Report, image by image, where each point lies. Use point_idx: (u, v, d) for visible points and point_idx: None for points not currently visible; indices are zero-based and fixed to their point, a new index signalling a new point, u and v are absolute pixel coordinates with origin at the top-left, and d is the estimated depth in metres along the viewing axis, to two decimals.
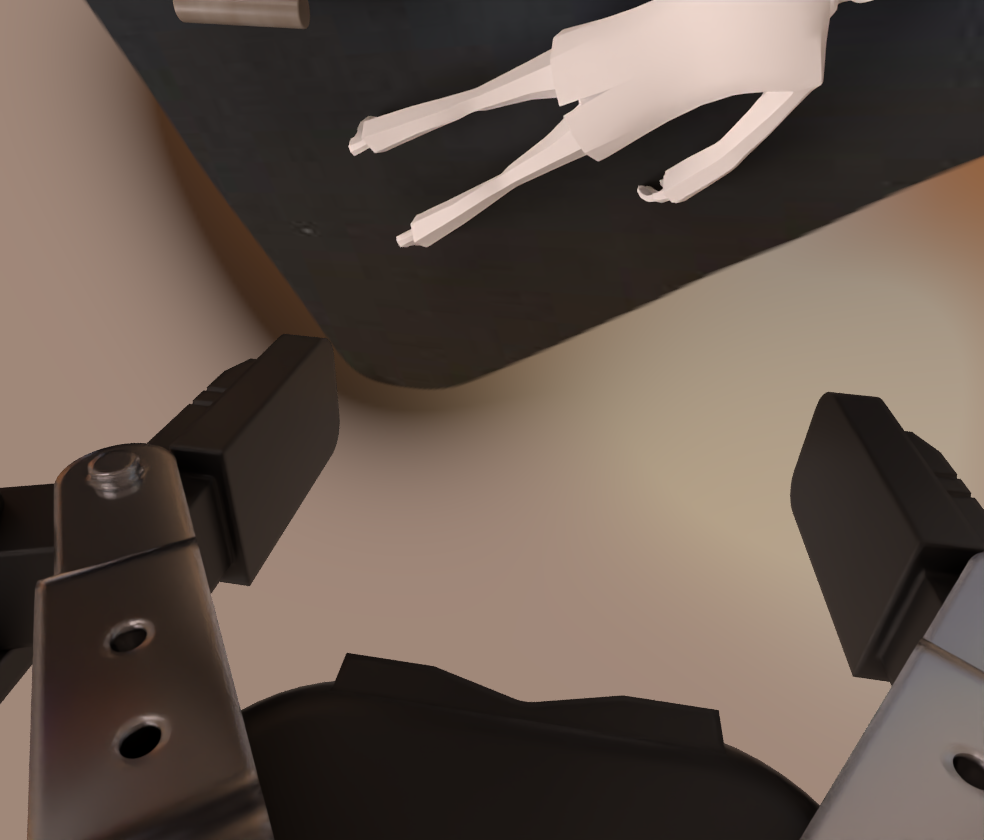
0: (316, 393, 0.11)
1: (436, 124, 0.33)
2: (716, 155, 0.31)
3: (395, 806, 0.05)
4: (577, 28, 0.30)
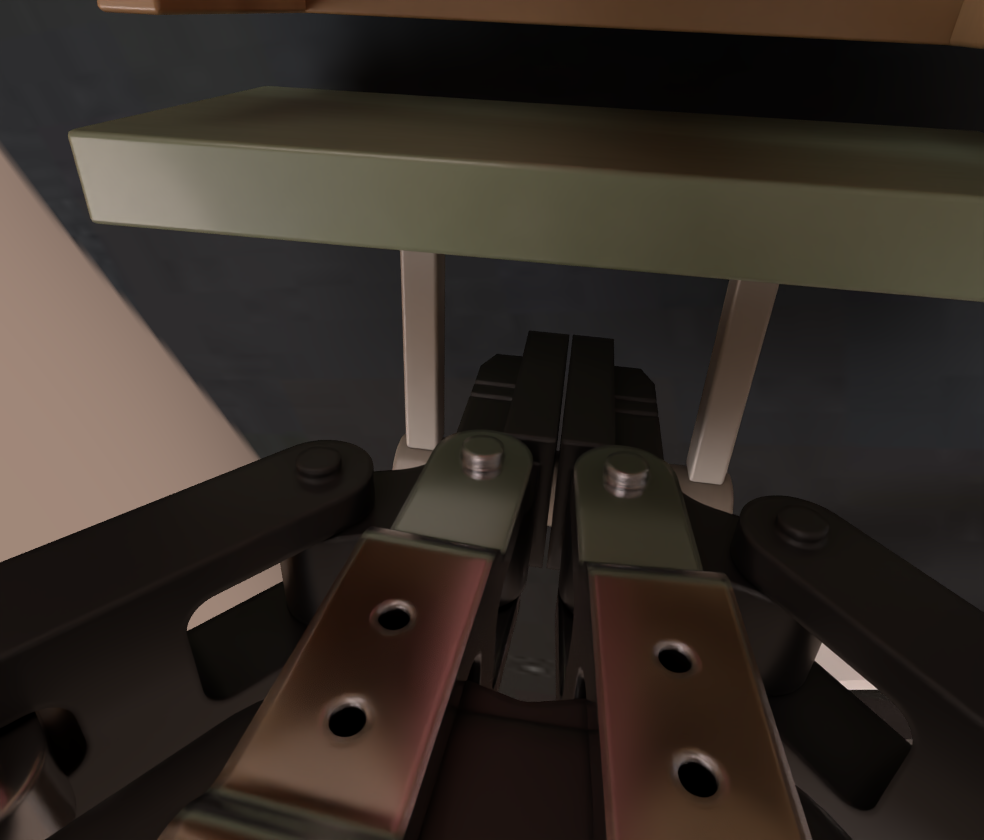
0: None
1: None
2: None
3: None
4: None
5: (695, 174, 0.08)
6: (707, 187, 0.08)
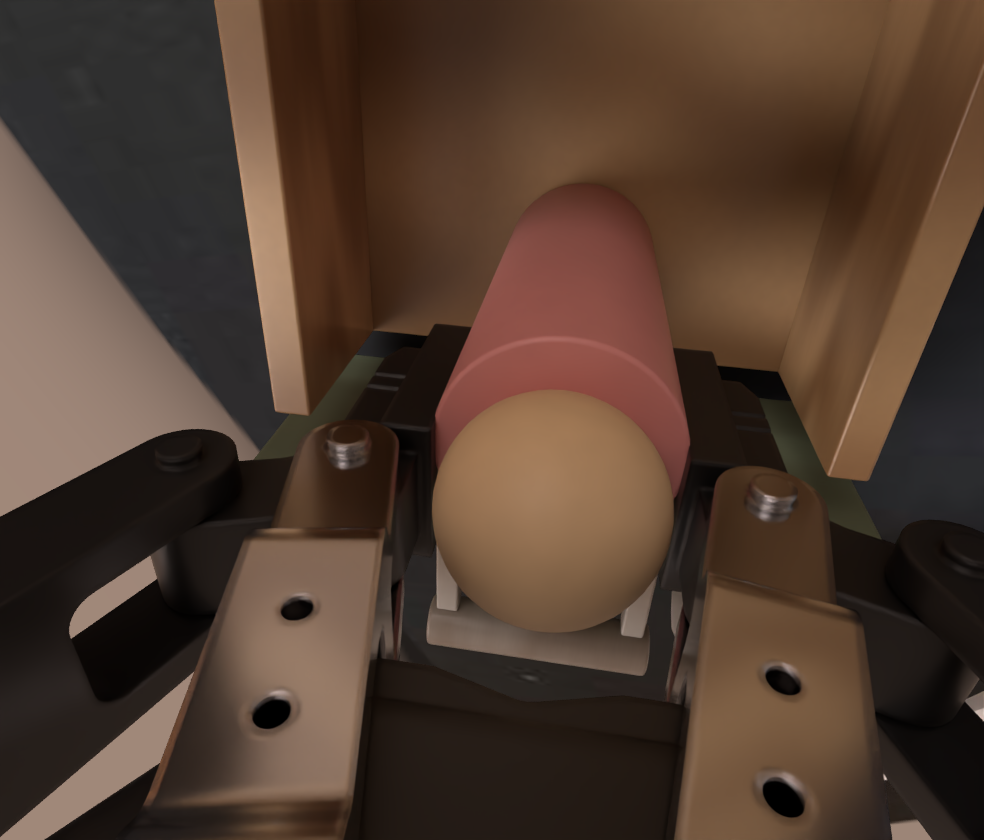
0: None
1: None
2: None
3: (396, 806, 0.05)
4: None
5: None
6: None
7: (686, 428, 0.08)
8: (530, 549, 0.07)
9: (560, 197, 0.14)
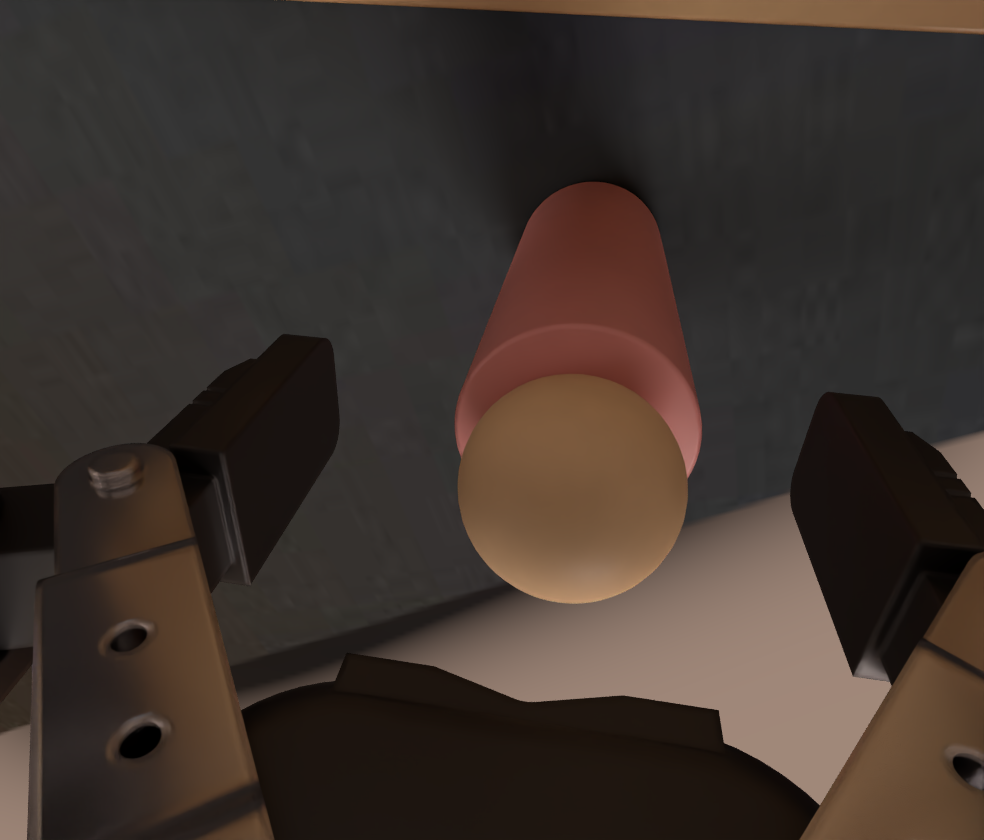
0: (316, 393, 0.11)
1: None
2: None
3: (395, 806, 0.05)
4: None
5: None
6: None
7: (698, 411, 0.09)
8: (554, 520, 0.07)
9: (571, 194, 0.15)
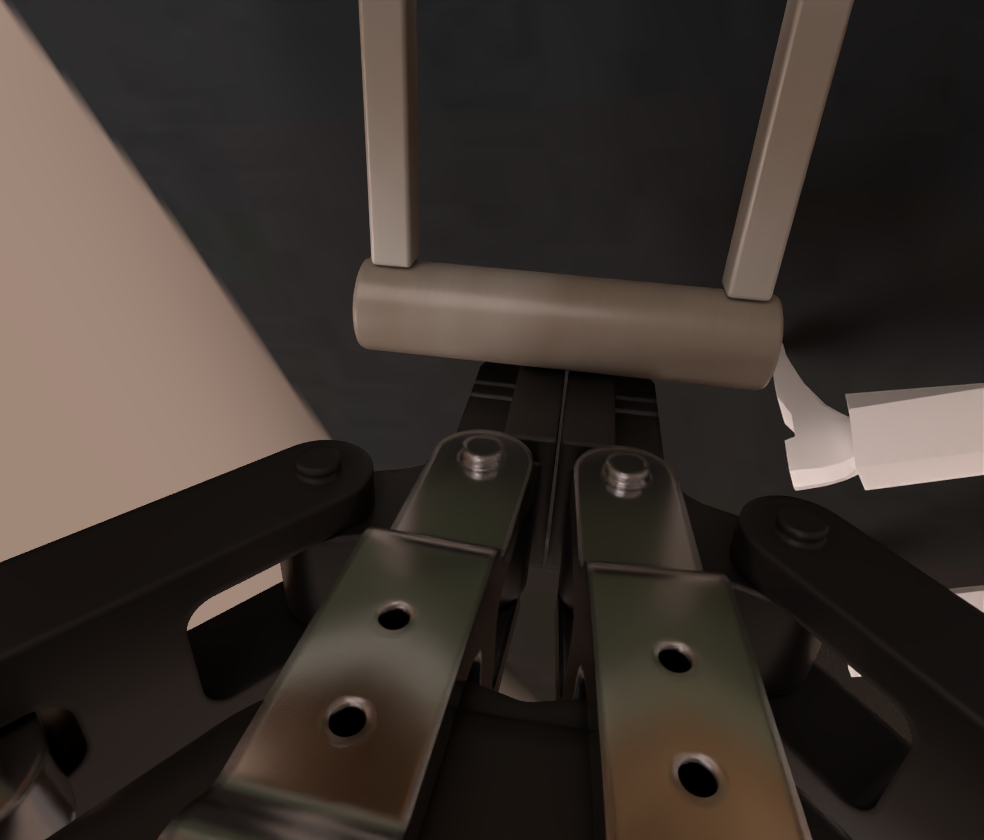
0: None
1: None
2: None
3: None
4: None
5: None
6: None
7: None
8: None
9: None
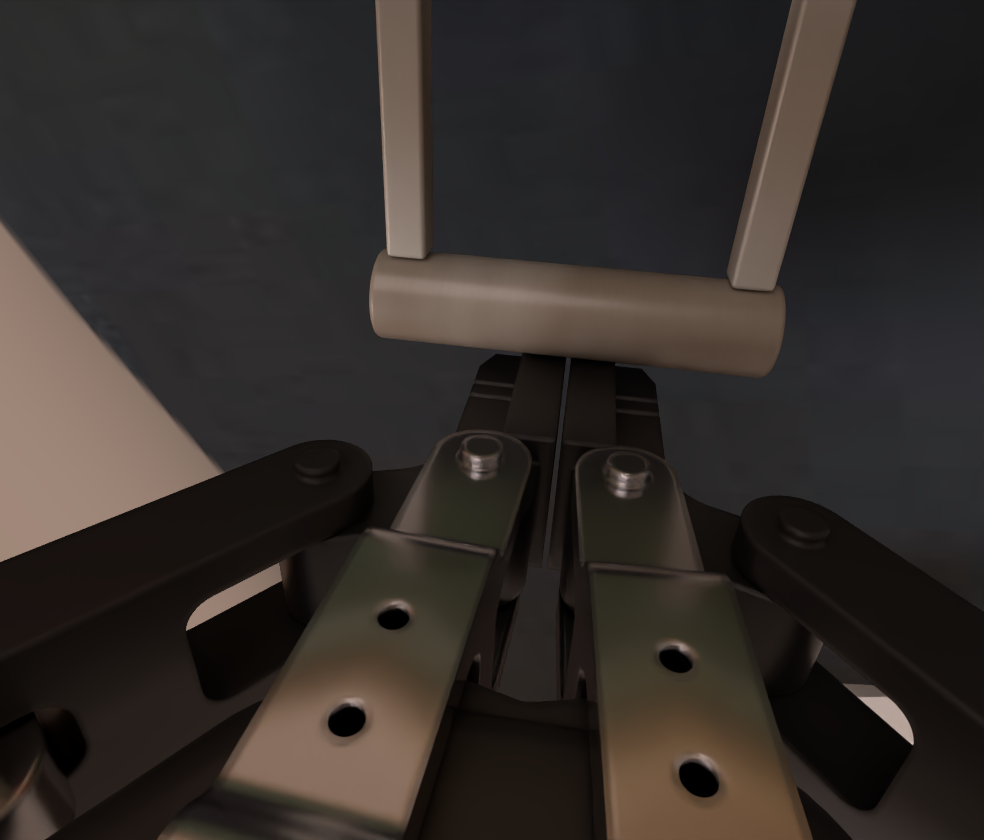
0: (562, 386, 0.11)
1: None
2: None
3: None
4: None
5: None
6: None
7: None
8: None
9: None
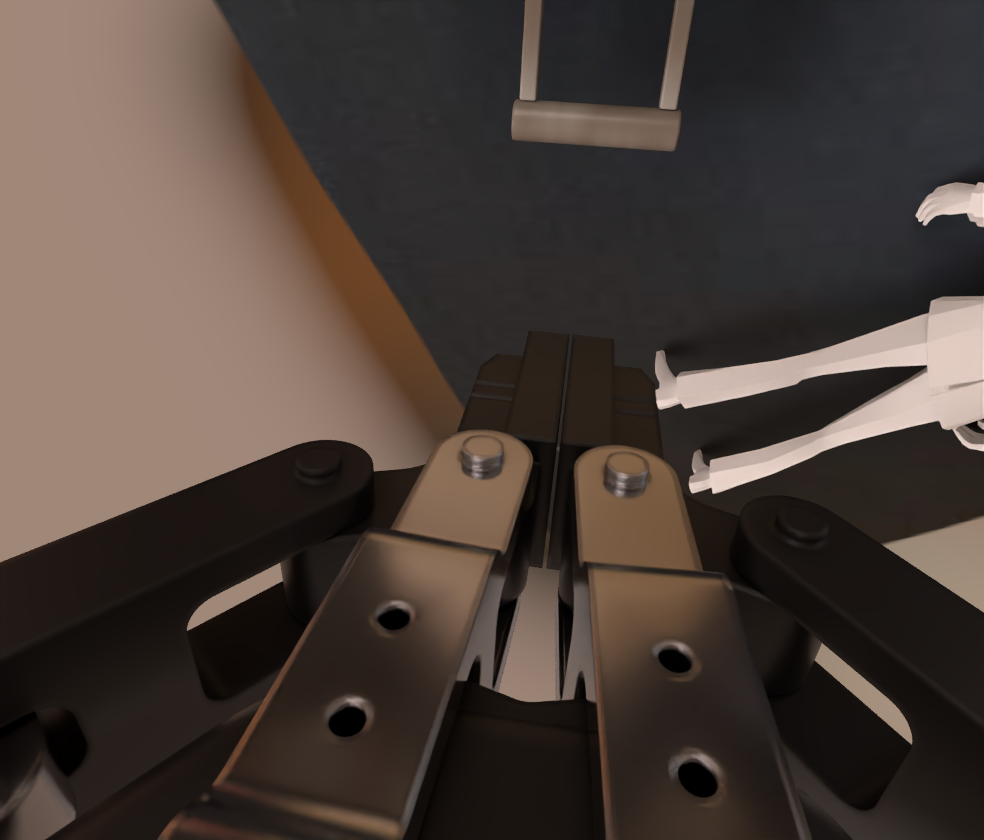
0: None
1: (768, 389, 0.30)
2: None
3: None
4: (959, 308, 0.27)
5: None
6: None
7: None
8: None
9: None
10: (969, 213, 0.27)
